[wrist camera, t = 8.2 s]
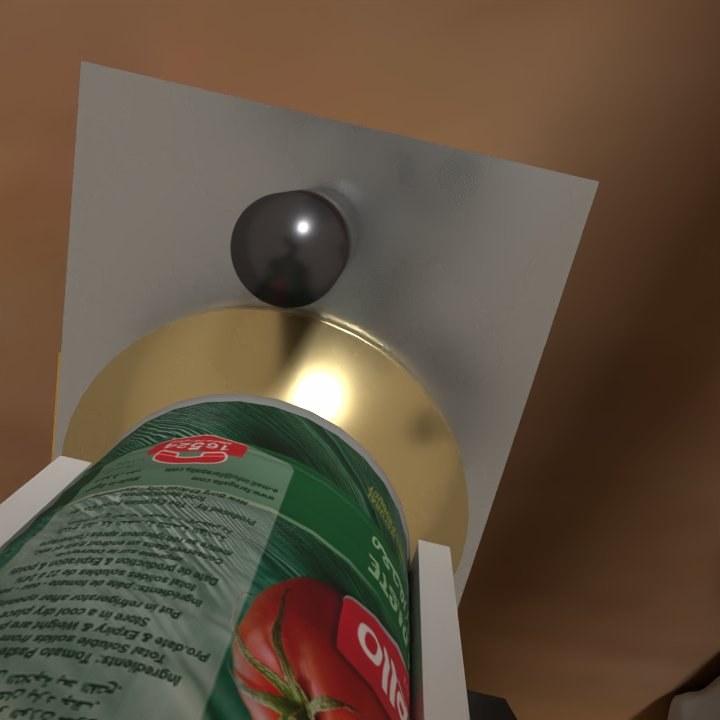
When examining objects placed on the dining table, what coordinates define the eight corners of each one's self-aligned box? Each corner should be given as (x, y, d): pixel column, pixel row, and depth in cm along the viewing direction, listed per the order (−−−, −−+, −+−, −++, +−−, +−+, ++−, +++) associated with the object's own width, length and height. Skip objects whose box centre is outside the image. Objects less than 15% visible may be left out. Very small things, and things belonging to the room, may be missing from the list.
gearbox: (146, 86, 18) (-83, 7, 10) (548, 180, 18) (675, 184, 10) (93, 610, 24) (-77, 847, 16) (394, 681, 24) (389, 957, 16)
